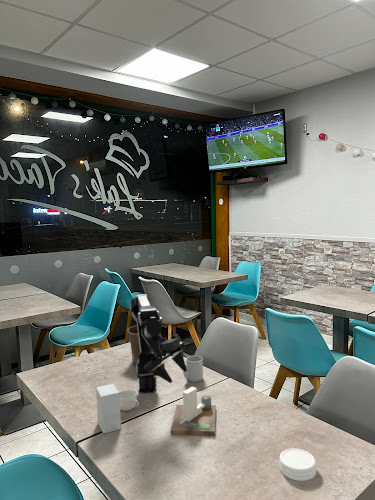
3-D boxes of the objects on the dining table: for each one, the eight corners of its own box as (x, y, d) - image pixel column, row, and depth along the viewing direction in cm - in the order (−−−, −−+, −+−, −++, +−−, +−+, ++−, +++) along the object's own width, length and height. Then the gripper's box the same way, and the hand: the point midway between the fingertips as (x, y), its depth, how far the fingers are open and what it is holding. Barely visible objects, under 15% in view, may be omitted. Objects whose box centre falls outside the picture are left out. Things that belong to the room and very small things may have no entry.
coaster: (309, 458, 115) (309, 446, 114) (321, 481, 105) (321, 469, 105) (275, 459, 115) (275, 448, 114) (285, 483, 105) (284, 470, 104)
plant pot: (168, 359, 194) (167, 328, 192) (143, 370, 182) (142, 336, 180) (147, 352, 205) (145, 322, 203) (122, 361, 193) (120, 329, 191)
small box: (121, 429, 133) (119, 392, 131) (103, 434, 130) (101, 396, 129) (115, 418, 140) (113, 383, 139) (97, 422, 137) (95, 387, 136)
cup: (206, 378, 171) (205, 358, 170) (190, 385, 164) (189, 365, 163) (194, 373, 176) (194, 354, 175) (178, 380, 169) (177, 360, 169)
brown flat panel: (170, 434, 128) (170, 429, 128) (176, 408, 145) (176, 404, 145) (214, 435, 127) (214, 430, 127) (215, 409, 144) (215, 404, 144)
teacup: (112, 409, 146) (111, 395, 146) (126, 401, 152) (126, 387, 152) (131, 417, 140) (130, 402, 140) (145, 408, 147) (145, 394, 146)
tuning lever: (205, 403, 145) (204, 378, 144) (213, 406, 142) (212, 380, 141) (176, 422, 132) (175, 394, 131) (184, 426, 130) (183, 397, 129)
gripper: (150, 339, 133) (177, 378, 129) (182, 321, 148) (206, 356, 145) (133, 354, 139) (158, 392, 135) (165, 335, 154) (188, 369, 151)
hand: (178, 376), depth 141 cm, fingers open, 9 cm apart
